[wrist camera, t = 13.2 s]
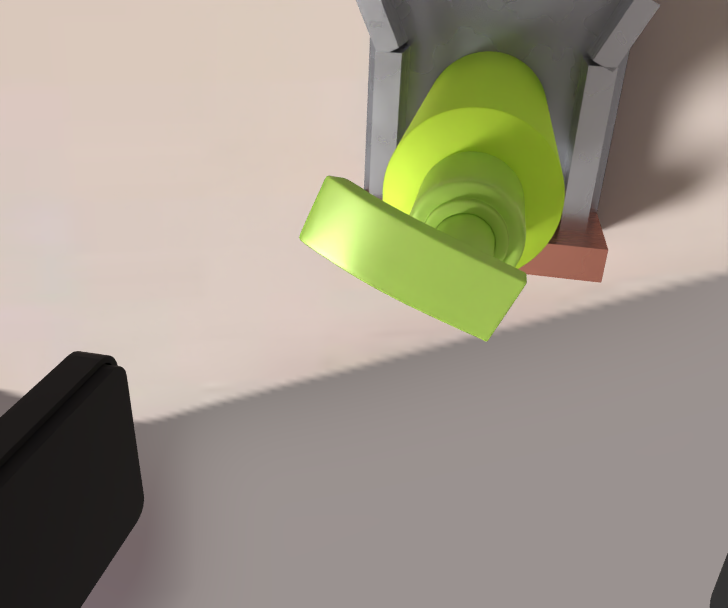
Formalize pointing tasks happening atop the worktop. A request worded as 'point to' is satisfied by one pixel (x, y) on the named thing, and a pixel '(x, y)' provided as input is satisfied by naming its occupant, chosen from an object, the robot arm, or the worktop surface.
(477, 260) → the soap dispenser
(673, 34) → the worktop surface
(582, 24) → the grey slotted bracket
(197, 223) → the worktop surface
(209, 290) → the worktop surface
